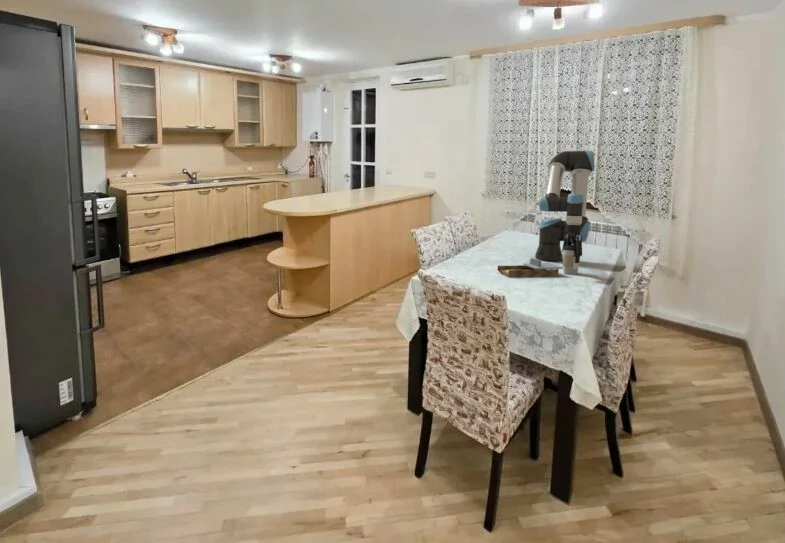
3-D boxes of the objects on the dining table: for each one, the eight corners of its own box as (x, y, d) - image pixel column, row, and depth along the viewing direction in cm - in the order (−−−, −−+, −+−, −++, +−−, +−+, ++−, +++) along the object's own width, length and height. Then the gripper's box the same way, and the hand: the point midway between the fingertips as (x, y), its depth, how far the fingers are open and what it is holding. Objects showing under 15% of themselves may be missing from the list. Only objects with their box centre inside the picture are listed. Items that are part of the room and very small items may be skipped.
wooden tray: (543, 271, 256) (544, 265, 255) (558, 276, 240) (558, 269, 240) (497, 272, 252) (497, 265, 251) (508, 277, 236) (509, 270, 236)
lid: (548, 264, 255) (548, 257, 255) (562, 268, 240) (563, 261, 240) (523, 264, 253) (523, 257, 253) (536, 269, 238) (536, 261, 237)
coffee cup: (558, 271, 254) (560, 243, 251) (574, 271, 255) (576, 243, 252) (565, 274, 245) (567, 245, 242) (583, 274, 246) (585, 245, 243)
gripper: (556, 222, 255) (554, 264, 259) (577, 225, 235) (574, 271, 238) (569, 222, 256) (567, 264, 260) (592, 225, 236) (588, 270, 239)
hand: (570, 267), depth 249 cm, fingers closed on coffee cup, 8 cm apart
